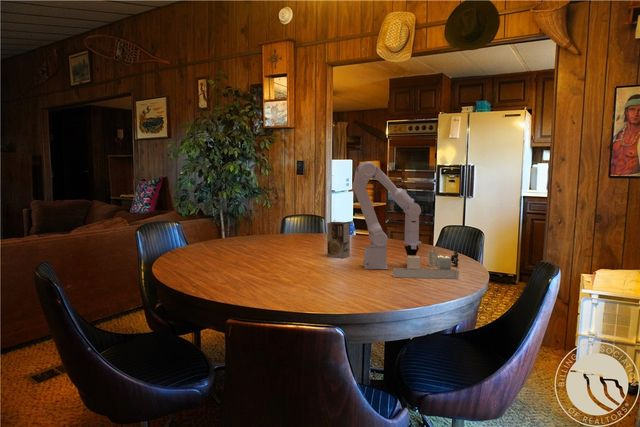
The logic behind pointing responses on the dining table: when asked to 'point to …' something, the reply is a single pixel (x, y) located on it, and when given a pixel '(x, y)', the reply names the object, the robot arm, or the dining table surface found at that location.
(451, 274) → the rail
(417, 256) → the block
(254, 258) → the dining table surface
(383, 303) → the dining table surface
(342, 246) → the coffee box
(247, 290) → the dining table surface
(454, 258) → the valve
